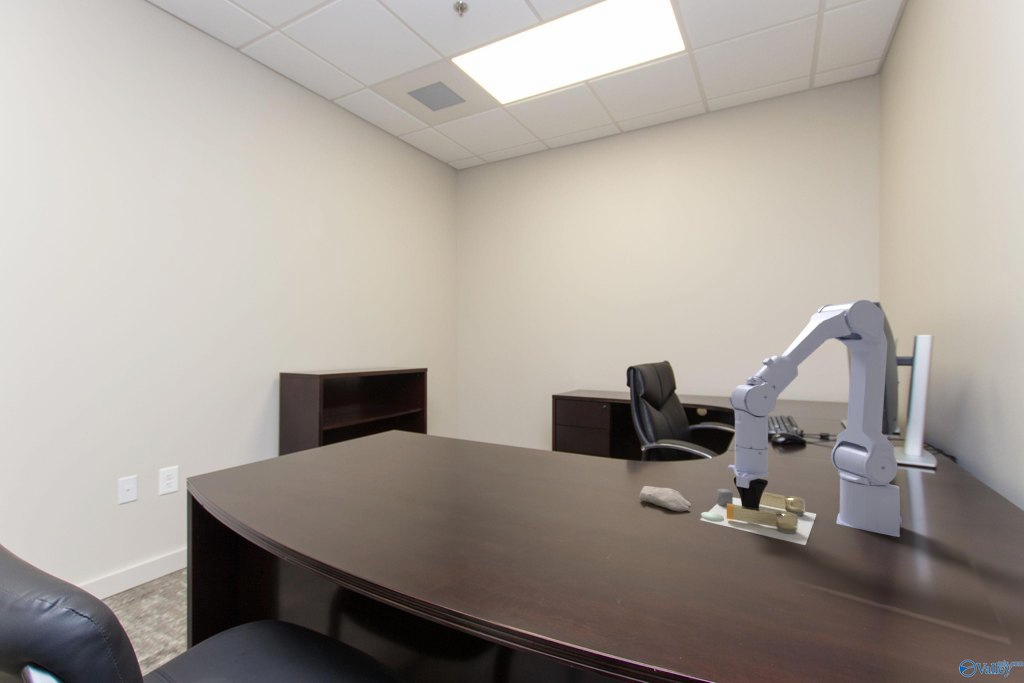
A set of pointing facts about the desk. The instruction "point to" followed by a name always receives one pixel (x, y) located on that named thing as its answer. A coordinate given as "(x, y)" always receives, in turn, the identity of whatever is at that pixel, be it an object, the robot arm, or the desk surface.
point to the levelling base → (720, 517)
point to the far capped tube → (783, 502)
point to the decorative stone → (664, 498)
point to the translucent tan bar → (763, 517)
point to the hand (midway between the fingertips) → (750, 516)
